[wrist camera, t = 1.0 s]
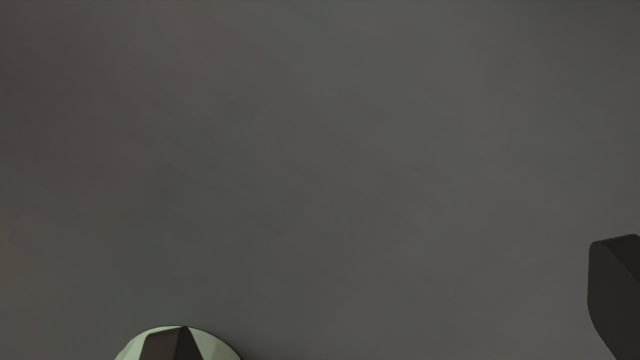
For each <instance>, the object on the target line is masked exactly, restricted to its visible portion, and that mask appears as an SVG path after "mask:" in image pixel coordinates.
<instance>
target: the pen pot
mask: <svg viewBox="0 0 640 360" xmlns="http://www.w3.org/2000/svg"><path fill="white" fill-rule="evenodd" d="M177 327H182V326H165V327H159V328H154V329H151V330H148V331H145V332H143V333H141V334H140V335H138V336H136V337H135V338H133V339H132V340H131V341H130V342H129V343H128V344H127V345H126V346H125V347H124V349H123V350H122V351H121V352H120V353H119V354H118V355H117V357H116V359H115V360H139V357H140V353H141V350H142V347H143V343H144V340H145V338H146V336H147V335H148V334H149V333H153V332H158V331H163V330H167V329H172V328H177ZM188 328H189V329H190V331H191V333H192V335H193V337H194V339H195V341H196V344H197V346H198V348H199V350H200V353H201V355H202V357H203V359H204V360H241V359H240V358H239V356H238V355H237V354H236V353H235V352H234V351H233V350H232V349H231V348H230V347H229V346H228V345H227V344H225V343H224V342H223V341H221V340H220V339H218V338H216V337H215V336H213V335H211V334H209V333H206V332H204V331H201V330H198V329H194V328H190V327H188Z"/></svg>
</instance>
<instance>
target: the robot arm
mask: <svg viewBox="0 0 640 360" xmlns="http://www.w3.org/2000/svg"><path fill="white" fill-rule="evenodd" d="M587 303H588V310H589V314H590V317H591V320H592V322H593V325H594V327H595V329H596V331H597V332H598V334H599V336H600V337H601V338H602V340H603V341H604V343H605V344H606V345H607V347H608V348H609V350H610V351H611V352H612V354H613V355H614V357H615V358H616V359H617V360H640V236H638V235H636V234H629V235H625V236H620V237H615V238H610V239H605V240H601V241H596V242H593V243H592V244H591V246H590V250H589V272H588V298H587ZM139 360H204V359H203V357H202V355H201V353H200V350H199V348H198V346H197V344H196V341H195V339H194V337H193V335H192V333H191V331H190V329H189V328H188V327H187V326H182V327H177V328H172V329H167V330H163V331H158V332H153V333H149V334H148V335H147V336H146V338H145V340H144V343H143V347H142V350H141V353H140V357H139Z"/></svg>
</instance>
